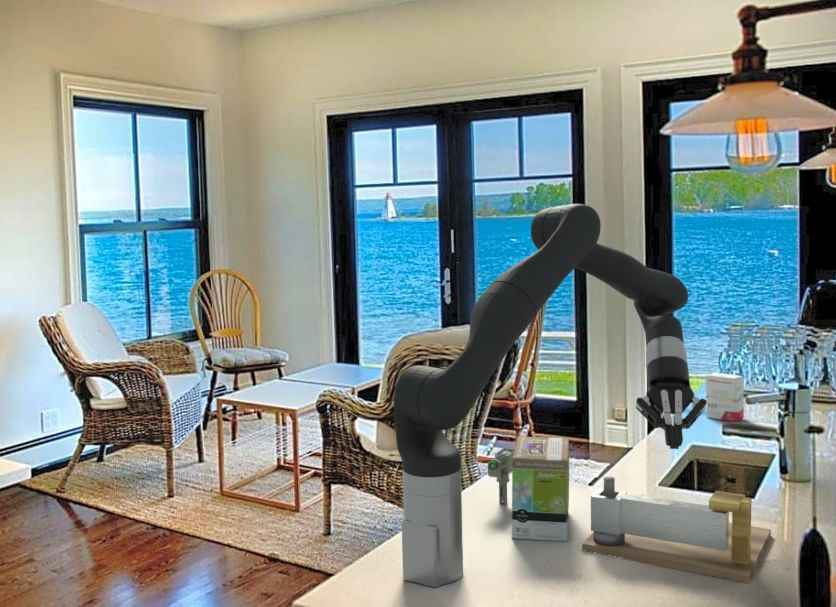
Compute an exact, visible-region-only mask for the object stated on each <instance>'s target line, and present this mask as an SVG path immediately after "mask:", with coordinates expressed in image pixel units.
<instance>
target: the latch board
mask: <svg viewBox="0 0 836 607" xmlns="http://www.w3.org/2000/svg"><path fill="white" fill-rule="evenodd" d="M615 480H616V479H615V477H613V476H604V477H603V488H604V496H607V497H614V498H615V490H616V489H615V485H616V484H615ZM752 500H753V499H752V497H746V494H741V493H733V492H728V491H727V492H726V491H722V490H715V491H714V492H713V494H712V495H711V497H710V498H709V500H708V506H709V509H714V510H721V511H727V512H729V513H731V517H732V518H731V519H732V520H731V522H729V540H728V547H727V549H726V551H724V550H718V549H712V548H706V547H700V546H694V545H688V544H682V543H676V542H670V541H664V540H658V539H652V538H646V537H640V536H635V535H629V534H623V533H621V534H620V535H613V534H607V533H601V532H595V531H592V533H591V534H590V535H589V536H588V537H587V538H586V539H585V540H583V542H582V544H581V551H583V550H586V551H585V552H588V551H592V552H591V553H593V552H596V553H595V554H598V553H601V554H600V555H603V554H605V555H604V556H608V555H611V556H610V557H613V556H616V557H615V558H618V557H622V558H621V559H623V558H625V559H624V560H628V559H629V561H634V562H639V563H645V564H649V565H654V566H660V567H665V568H671V569H675V570H680V571H684V572H690V573H695V574H700V575H704V574H706V575H705V576H709V575H710V577H713V578H714V577H716V578H720V579H724V578H725V580H730V581H735V582H741V583H745V584H750V581H751V579H752V577H753V576H754V575H753V574H754V573H753V572H755V571H756V569H755V568H757V567H758V564H759V562H760V560H761V558H762V556H763V554H762V553H764V552H765V549H766V547H767V545H768V543H769V541H770V538H771V534H772V533H771V532H772V529H770V528H765V527H758V526H753V525H752ZM763 551H764V552H763ZM761 555H762V556H761ZM760 557H761V558H760ZM759 559H760V560H759ZM758 561H759V562H758ZM756 566H757V567H756ZM754 570H755V571H754Z"/></svg>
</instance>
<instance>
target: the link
mask: <svg viewBox="0 0 836 607" xmlns="http://www.w3.org/2000/svg"><path fill="white" fill-rule="evenodd" d="M729 523H730V512H727V511H721V510H714V509H709V505H706V504H698V503H692V502H685V501H680V500H674V499H673V500H672V499H664V498H659V497H651V496H644V495H637V494H631V493H630V494H629V493H628V491H625V490H619V489H615V498H614V497H607V496H604V487H599V488H597V490H596V491H594V492H593V493H592V494H591V495H590V531H591V532H593V531H595V532H601V533H607V534H613V535H620V534H621V533H623V534H629V535H635V536H640V537H646V538H652V539H658V540H664V541H670V542H676V543H682V544H688V545H694V546H700V547H706V548H712V549H718V550H724V551H726V549H727V547H728V540H729Z"/></svg>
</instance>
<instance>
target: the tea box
mask: <svg viewBox="0 0 836 607" xmlns="http://www.w3.org/2000/svg"><path fill="white" fill-rule="evenodd" d="M514 449H515V451H514V455H513V467H512V472H511V474H512V475H511V476H512V481H511V483H512V484H511V486H512V487H511V491H512V492H511V506H512V507H511V538H512V539H518V540H519V539H520V540H530V541H531V540H533V541H534V540H535V541H551V542H552V541H555V542H567V540H568V534H569V533H568V531H569V530H568V528H569V506H570V501H569V500H570V499H569V498H570V440H569V438H567V437H565V438H564V437H541V436H540V437H539V436H517V438H516V444H515V447H514Z"/></svg>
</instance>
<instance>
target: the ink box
mask: <svg viewBox="0 0 836 607" xmlns="http://www.w3.org/2000/svg"><path fill="white" fill-rule="evenodd" d="M744 388H745V387H744V375H738V374H737V375H736V374H729V373H728V374H727V373H722V372H713V373H709V374H706V375H705V400H706V401H707V403H706V407H705V412H706V418H707V419H714V420H722V421H727V422H728V421H729V422H734V423H735V422H736V423H737V422H739V421H742V420H743V419H744V418H745V414H744V413H745V412H744V409H745V408H744V407H745V406H744V405H745V404H744Z"/></svg>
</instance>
